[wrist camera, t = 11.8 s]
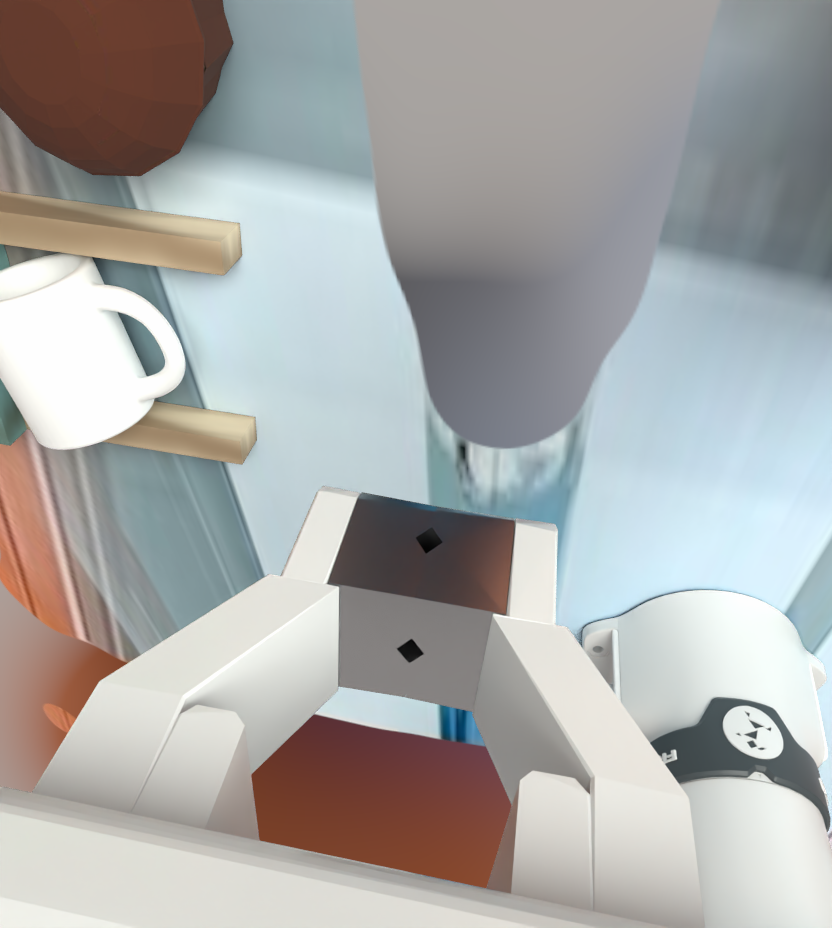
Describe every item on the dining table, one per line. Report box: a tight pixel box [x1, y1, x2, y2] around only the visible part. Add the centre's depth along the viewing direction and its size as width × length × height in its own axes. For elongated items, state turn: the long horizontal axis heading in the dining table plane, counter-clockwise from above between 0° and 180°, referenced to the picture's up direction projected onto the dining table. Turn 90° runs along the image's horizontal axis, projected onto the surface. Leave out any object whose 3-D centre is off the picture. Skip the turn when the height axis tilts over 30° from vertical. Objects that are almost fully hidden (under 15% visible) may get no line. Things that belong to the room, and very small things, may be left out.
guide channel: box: [0, 191, 257, 464], centre depth 48 cm, size 16×18×5 cm
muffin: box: [0, 0, 233, 176], centre depth 34 cm, size 12×11×10 cm
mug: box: [0, 253, 185, 450], centre depth 46 cm, size 12×10×8 cm
